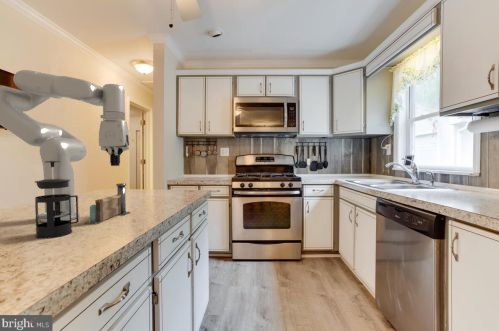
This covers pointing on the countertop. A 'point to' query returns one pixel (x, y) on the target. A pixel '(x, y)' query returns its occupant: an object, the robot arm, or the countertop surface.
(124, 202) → the gate post
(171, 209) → the countertop surface
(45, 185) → the french press
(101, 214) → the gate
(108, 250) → the countertop surface
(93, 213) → the latch post
